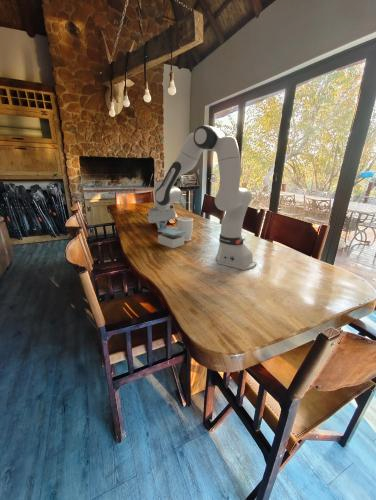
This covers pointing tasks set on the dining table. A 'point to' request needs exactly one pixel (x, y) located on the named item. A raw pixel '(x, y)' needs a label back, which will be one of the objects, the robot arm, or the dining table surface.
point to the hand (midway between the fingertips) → (161, 227)
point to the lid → (169, 230)
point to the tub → (171, 240)
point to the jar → (186, 227)
